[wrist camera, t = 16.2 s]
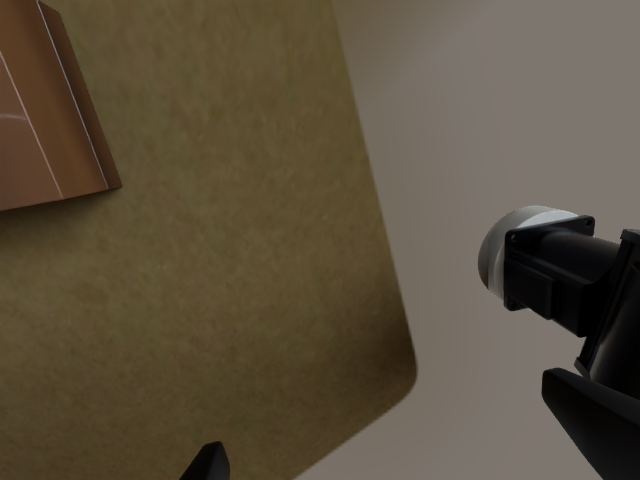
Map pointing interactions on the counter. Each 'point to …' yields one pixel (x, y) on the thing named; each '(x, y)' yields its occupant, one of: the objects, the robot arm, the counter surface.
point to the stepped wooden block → (46, 113)
